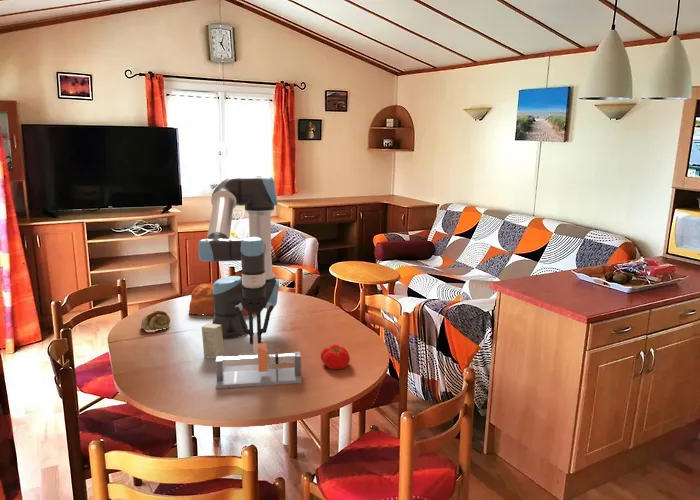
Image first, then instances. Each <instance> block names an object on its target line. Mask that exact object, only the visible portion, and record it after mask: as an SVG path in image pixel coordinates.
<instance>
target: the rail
mask: <svg viewBox="0 0 700 500" xmlns="http://www.w3.org/2000/svg"><path fill="white" fill-rule="evenodd" d="M301 361H302V354H301V352H300V351H293V352H290V353H278V352H275V353H270V354H268V353H267V364H268V365H279V364H287V363H288V364H292V363H293V366H294V367H293V368H294V372H295V376H301V377H302V362H301ZM256 365H257V366H258V354H252V355H250V354H249V355H238V356H237V355H236V356H235V355H232V356H224V355H223V356H217V358H216V359H215V371H216V372H215V373H216V375H215V376H216V382H217V381H223V377H224V372H225V371H224V368H225V367H241V366H256Z"/></svg>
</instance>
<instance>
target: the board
mask: <svg viewBox="0 0 700 500" xmlns="http://www.w3.org/2000/svg"><path fill="white" fill-rule="evenodd" d="M291 384H302V375H301V376H295V372H294V367H285V368H284V367H281V368H280V367H279V368H268V371H264V372H259V370H258V369H250V370H234V371H224V377H223V381H217V380H216V385H215V389H227V388H228V387H230V388H243V387H244V388H245V387H256V386H273V385H274V386H276V385H291Z"/></svg>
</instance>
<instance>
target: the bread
mask: <svg viewBox="0 0 700 500" xmlns="http://www.w3.org/2000/svg"><path fill="white" fill-rule="evenodd" d="M213 284H214V283H211V284H210V283H201V284H199V285H197V286H196V287H195V288H194V289H193V290H192V292H191V297H190V298H191V300H190V302H189V307H188V308H189V309H188V314H191V315H193V314H197V315H196V316H214V298H213ZM202 314H204V315H202ZM255 314H256V315H257V313H255V312H254V313H253V315H255ZM243 315H244V316H249V312H247V310H246V309H243Z"/></svg>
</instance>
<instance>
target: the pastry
mask: <svg viewBox="0 0 700 500" xmlns="http://www.w3.org/2000/svg"><path fill="white" fill-rule="evenodd" d="M170 322H171V317H170V316H169V315H168V313H167V312H166V311H163V310H154V311H150V312H148V313H146V314H145V315H144V316H143V318H142V320H141V328H142V327H143V329H144V330H156V329H163V328H167V327H168V328H169V326H170V324H171V323H170ZM143 329H142V330H143ZM144 330H143V331H144Z"/></svg>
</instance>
